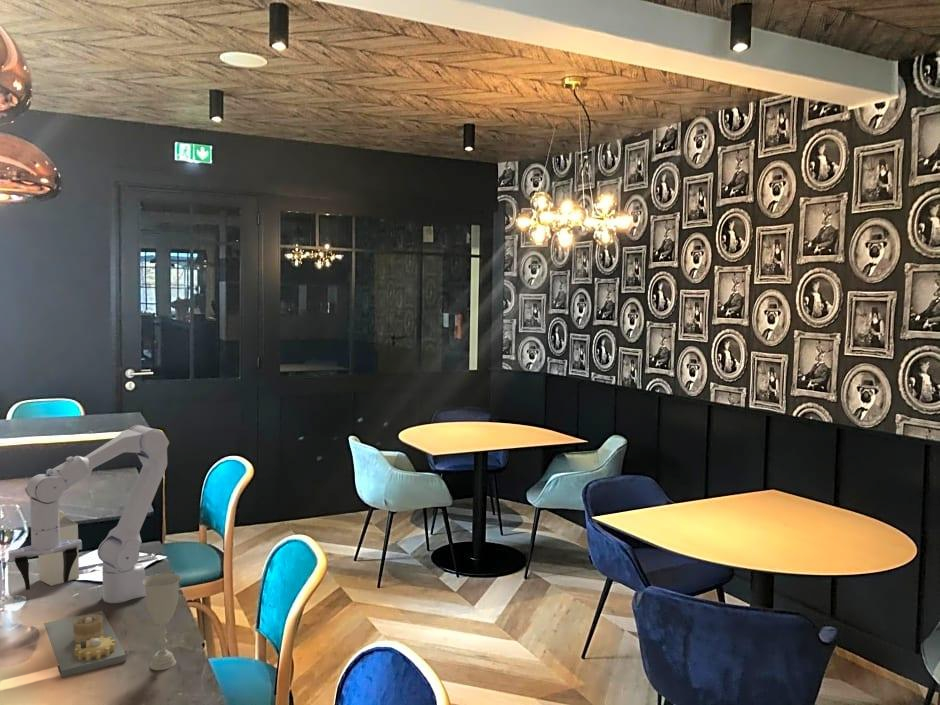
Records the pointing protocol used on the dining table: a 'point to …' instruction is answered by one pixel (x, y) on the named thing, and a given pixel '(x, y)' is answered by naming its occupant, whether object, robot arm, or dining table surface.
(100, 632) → the wooden ring spacer
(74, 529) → the milk carton
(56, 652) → the gear board
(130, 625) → the dining table surface
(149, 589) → the chalice
